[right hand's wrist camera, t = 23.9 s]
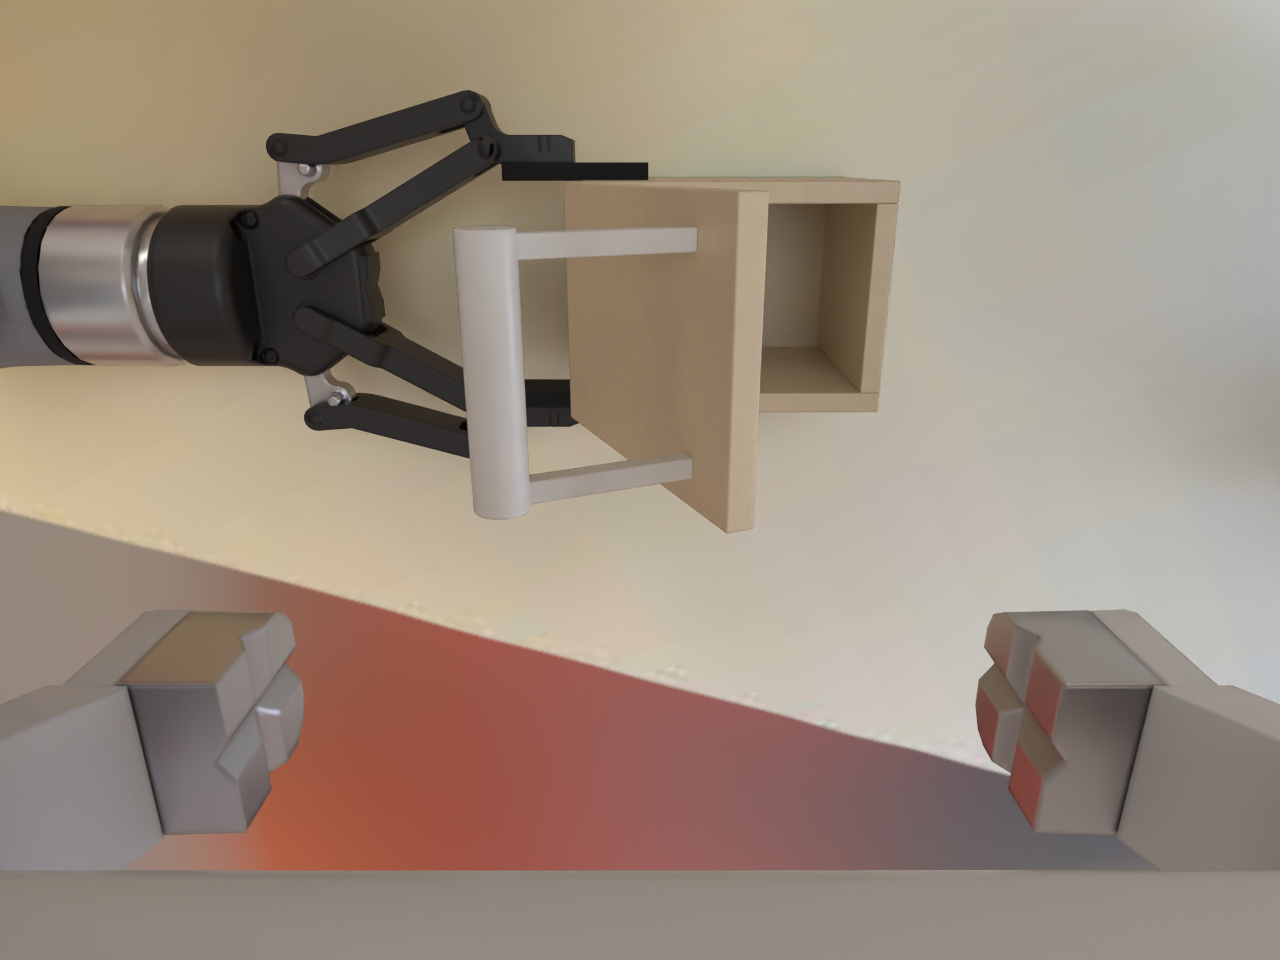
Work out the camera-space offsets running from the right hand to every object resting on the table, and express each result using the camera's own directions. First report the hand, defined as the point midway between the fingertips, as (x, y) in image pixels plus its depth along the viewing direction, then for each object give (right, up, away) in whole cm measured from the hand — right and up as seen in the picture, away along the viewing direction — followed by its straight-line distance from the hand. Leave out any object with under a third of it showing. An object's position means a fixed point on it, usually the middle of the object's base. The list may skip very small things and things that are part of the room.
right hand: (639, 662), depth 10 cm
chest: (+4, +14, +37) cm, 40 cm away
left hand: (0, +11, +31) cm, 33 cm away
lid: (+1, +7, +20) cm, 22 cm away
